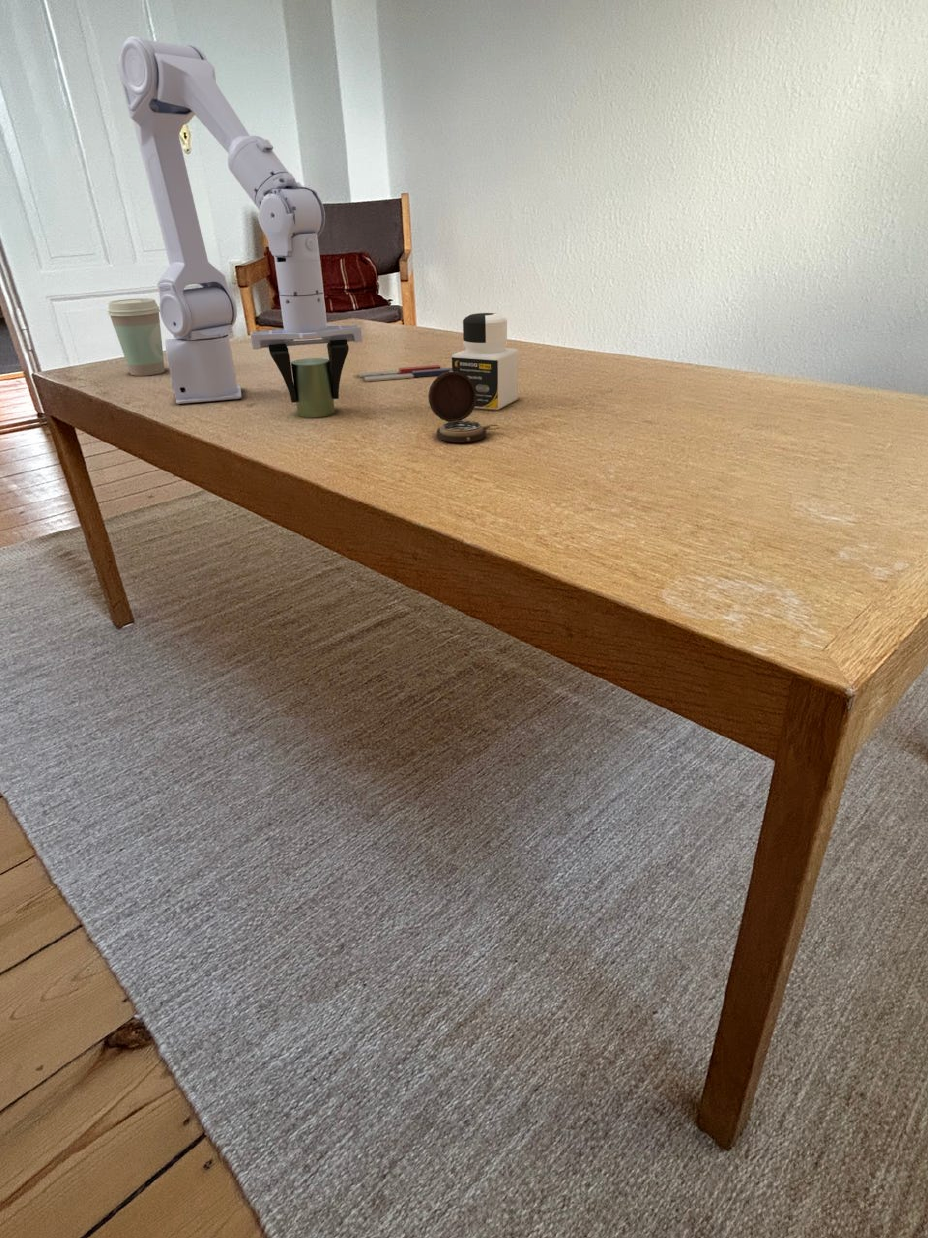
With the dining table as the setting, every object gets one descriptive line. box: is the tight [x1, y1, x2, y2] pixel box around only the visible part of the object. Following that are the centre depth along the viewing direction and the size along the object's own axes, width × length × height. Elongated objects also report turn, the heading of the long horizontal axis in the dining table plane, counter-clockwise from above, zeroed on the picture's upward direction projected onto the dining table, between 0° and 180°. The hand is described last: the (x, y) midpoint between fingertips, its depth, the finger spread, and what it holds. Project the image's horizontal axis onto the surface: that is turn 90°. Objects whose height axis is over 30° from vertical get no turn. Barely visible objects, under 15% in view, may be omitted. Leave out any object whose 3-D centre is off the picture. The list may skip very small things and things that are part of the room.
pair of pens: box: [357, 364, 441, 379], centre depth 128 cm, size 14×2×1 cm, turn 105°
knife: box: [364, 367, 452, 383], centre depth 125 cm, size 15×2×1 cm, turn 105°
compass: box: [427, 370, 501, 444], centre depth 92 cm, size 8×8×7 cm
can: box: [290, 357, 336, 419], centre depth 104 cm, size 5×5×7 cm
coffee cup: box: [107, 297, 166, 377], centre depth 132 cm, size 8×8×12 cm
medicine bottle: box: [451, 312, 519, 411], centre depth 105 cm, size 7×7×12 cm
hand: (314, 399), depth 105 cm, fingers closed on can, 5 cm apart
